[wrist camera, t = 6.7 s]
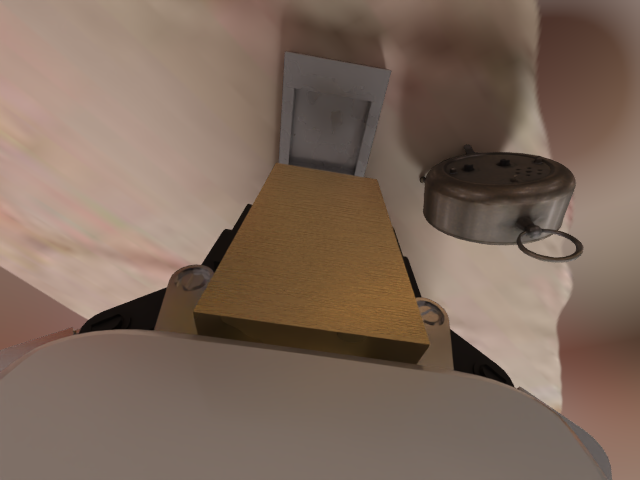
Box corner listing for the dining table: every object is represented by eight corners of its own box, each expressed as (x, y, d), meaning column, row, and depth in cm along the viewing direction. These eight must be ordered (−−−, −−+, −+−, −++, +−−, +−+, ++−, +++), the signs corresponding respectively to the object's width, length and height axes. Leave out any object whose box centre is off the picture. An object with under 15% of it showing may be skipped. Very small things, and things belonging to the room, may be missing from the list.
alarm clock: (409, 193, 31) (464, 297, 18) (411, 147, 28) (479, 232, 15) (509, 181, 29) (648, 284, 16) (522, 131, 26) (708, 210, 13)
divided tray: (386, 69, 24) (391, 70, 22) (338, 263, 38) (338, 275, 36) (289, 51, 23) (284, 51, 21) (276, 254, 37) (273, 266, 35)
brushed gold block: (376, 179, 13) (430, 344, 6) (353, 256, 16) (369, 432, 8) (276, 162, 13) (192, 311, 5) (271, 244, 16) (213, 413, 8)
